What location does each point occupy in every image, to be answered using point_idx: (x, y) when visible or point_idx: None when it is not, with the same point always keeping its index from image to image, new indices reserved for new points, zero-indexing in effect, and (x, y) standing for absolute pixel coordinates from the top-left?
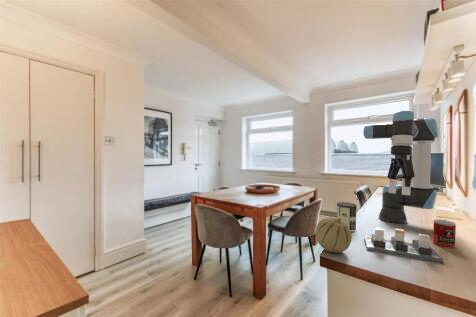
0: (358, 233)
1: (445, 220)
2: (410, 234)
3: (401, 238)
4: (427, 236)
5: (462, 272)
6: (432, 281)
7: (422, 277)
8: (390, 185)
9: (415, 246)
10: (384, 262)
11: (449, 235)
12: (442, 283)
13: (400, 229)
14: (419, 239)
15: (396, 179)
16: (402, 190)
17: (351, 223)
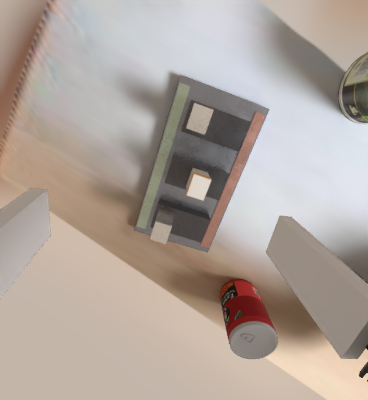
0: (316, 113)
1: (268, 353)
2: None
3: (188, 182)
4: (151, 234)
5: (101, 234)
6: (43, 149)
7: (54, 139)
8: (315, 258)
9: (182, 208)
10: (108, 88)
11: (224, 313)
12: (41, 164)
13: (201, 192)
14: (165, 217)
15: (363, 367)
16: (16, 202)
17: (360, 91)
